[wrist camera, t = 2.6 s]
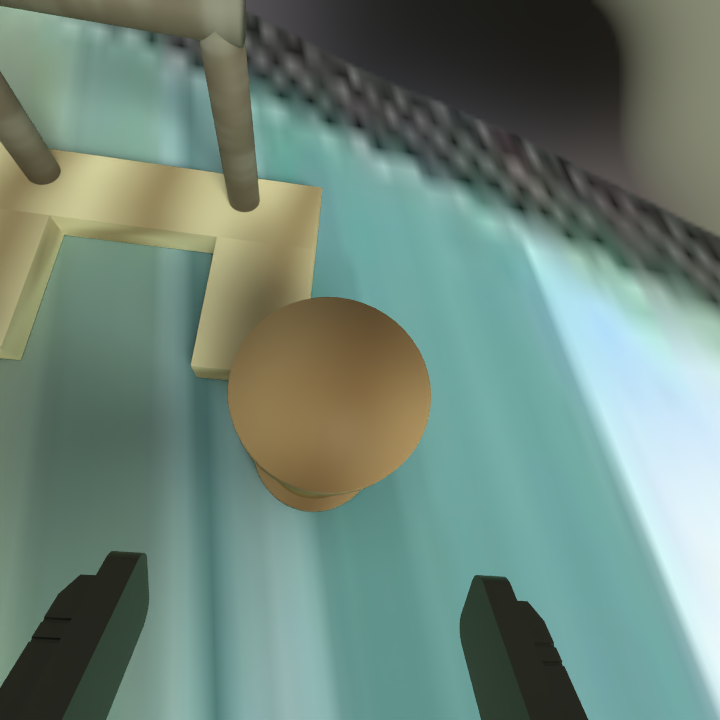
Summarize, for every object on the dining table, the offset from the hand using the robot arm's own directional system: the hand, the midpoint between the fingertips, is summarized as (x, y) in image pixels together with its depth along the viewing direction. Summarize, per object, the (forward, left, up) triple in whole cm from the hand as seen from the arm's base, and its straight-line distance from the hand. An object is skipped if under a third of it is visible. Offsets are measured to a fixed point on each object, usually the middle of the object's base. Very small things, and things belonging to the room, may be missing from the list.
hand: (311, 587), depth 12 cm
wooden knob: (0, +5, -10) cm, 11 cm away
